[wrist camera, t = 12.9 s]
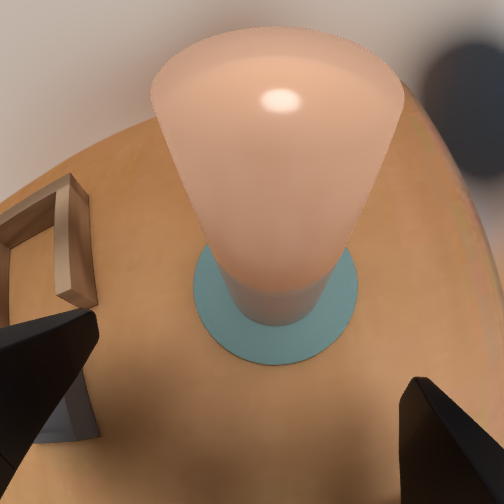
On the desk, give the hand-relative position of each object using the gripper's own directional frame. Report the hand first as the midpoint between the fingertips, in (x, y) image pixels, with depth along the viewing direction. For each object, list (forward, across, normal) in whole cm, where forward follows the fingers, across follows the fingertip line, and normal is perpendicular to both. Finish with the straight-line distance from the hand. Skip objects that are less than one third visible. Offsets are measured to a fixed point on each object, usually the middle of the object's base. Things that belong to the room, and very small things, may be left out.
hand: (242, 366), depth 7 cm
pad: (+9, 0, +2) cm, 9 cm away
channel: (+7, +17, +4) cm, 19 cm away
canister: (+9, 0, +2) cm, 9 cm away
